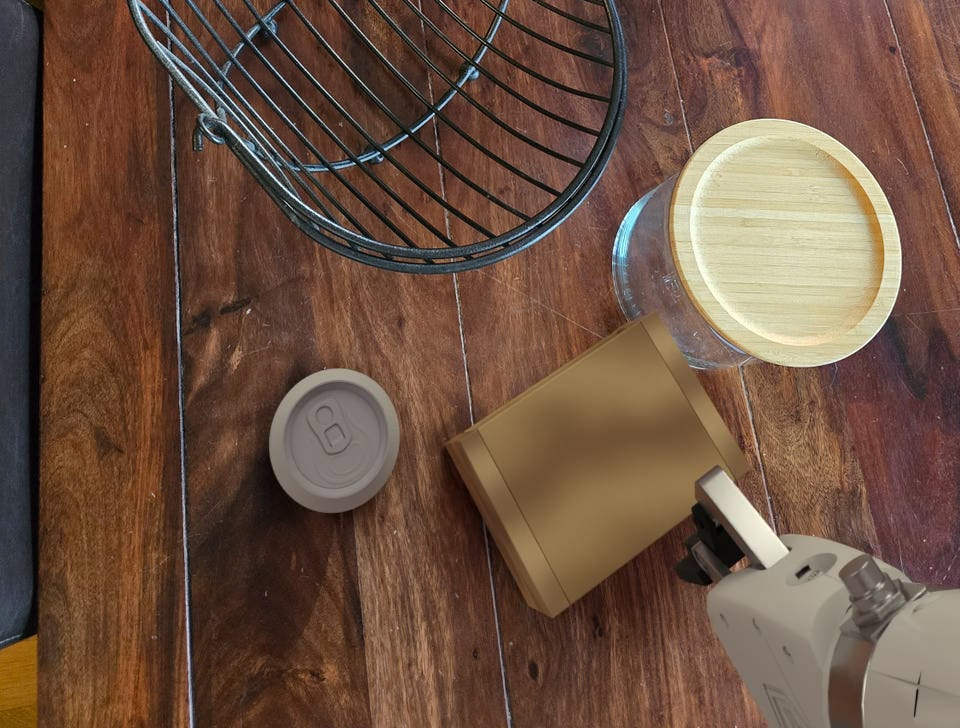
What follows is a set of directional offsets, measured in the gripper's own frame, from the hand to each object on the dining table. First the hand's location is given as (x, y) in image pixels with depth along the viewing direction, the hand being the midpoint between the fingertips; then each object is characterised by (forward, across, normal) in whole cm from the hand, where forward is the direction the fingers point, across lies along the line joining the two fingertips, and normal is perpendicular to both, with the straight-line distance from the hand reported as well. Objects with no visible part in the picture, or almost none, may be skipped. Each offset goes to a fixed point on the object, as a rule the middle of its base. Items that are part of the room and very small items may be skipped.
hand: (764, 656), depth 52 cm
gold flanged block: (+18, -10, +1) cm, 20 cm away
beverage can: (+18, -18, -12) cm, 28 cm away
